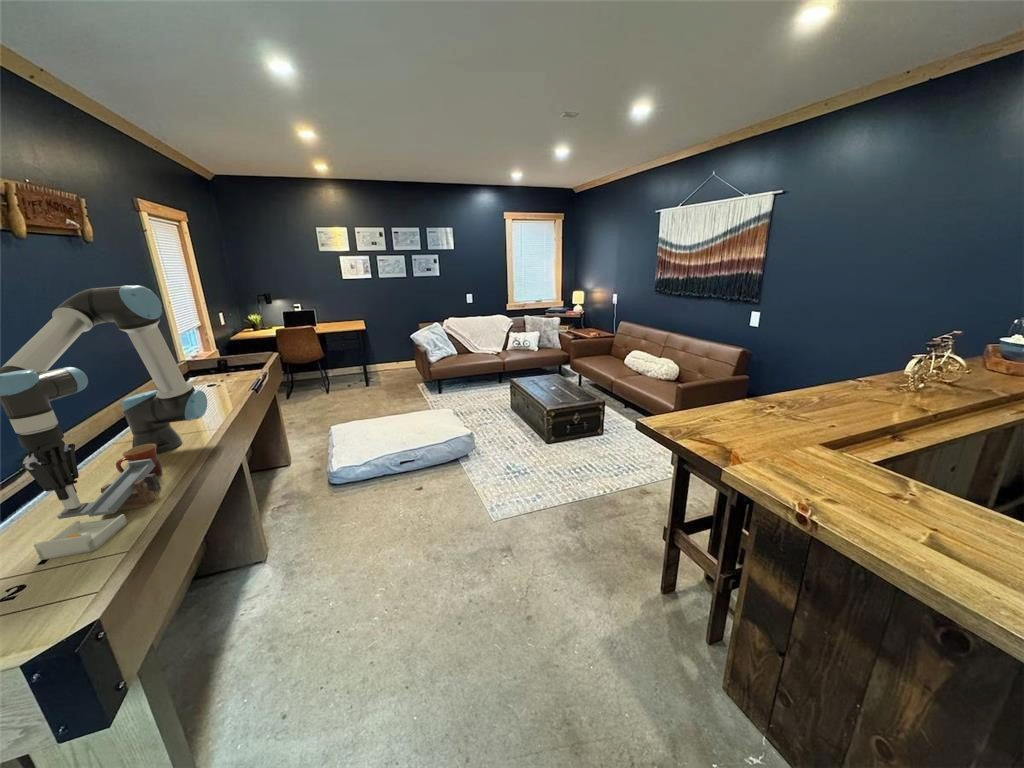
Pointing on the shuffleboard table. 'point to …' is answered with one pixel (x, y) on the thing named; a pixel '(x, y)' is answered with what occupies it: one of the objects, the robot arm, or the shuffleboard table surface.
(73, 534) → the ball
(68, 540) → the tray
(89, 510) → the lever
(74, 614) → the shuffleboard table surface
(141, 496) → the fulcrum
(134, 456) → the mug
